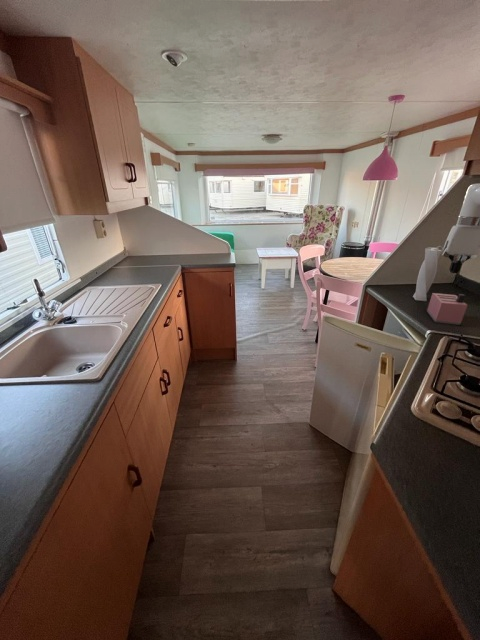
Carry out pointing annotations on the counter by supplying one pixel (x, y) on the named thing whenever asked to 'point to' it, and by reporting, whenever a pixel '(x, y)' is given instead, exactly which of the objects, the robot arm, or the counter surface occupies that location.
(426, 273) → the skyscraper
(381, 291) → the counter surface
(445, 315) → the toaster
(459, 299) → the slider
